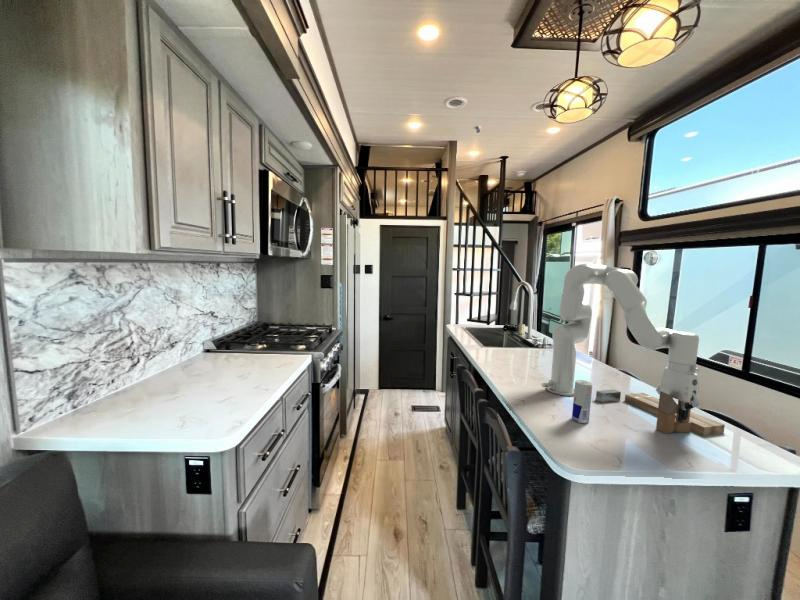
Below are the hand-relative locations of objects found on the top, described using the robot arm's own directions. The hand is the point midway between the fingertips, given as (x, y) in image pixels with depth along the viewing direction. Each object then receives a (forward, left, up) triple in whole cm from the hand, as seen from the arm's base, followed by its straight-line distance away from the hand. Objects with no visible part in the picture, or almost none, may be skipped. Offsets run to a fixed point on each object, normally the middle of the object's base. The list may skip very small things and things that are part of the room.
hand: (674, 416), depth 116 cm
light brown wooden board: (+12, +10, -5) cm, 17 cm away
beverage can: (-28, +13, -6) cm, 31 cm away
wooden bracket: (0, 0, -6) cm, 6 cm away
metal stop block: (0, +27, -5) cm, 28 cm away
